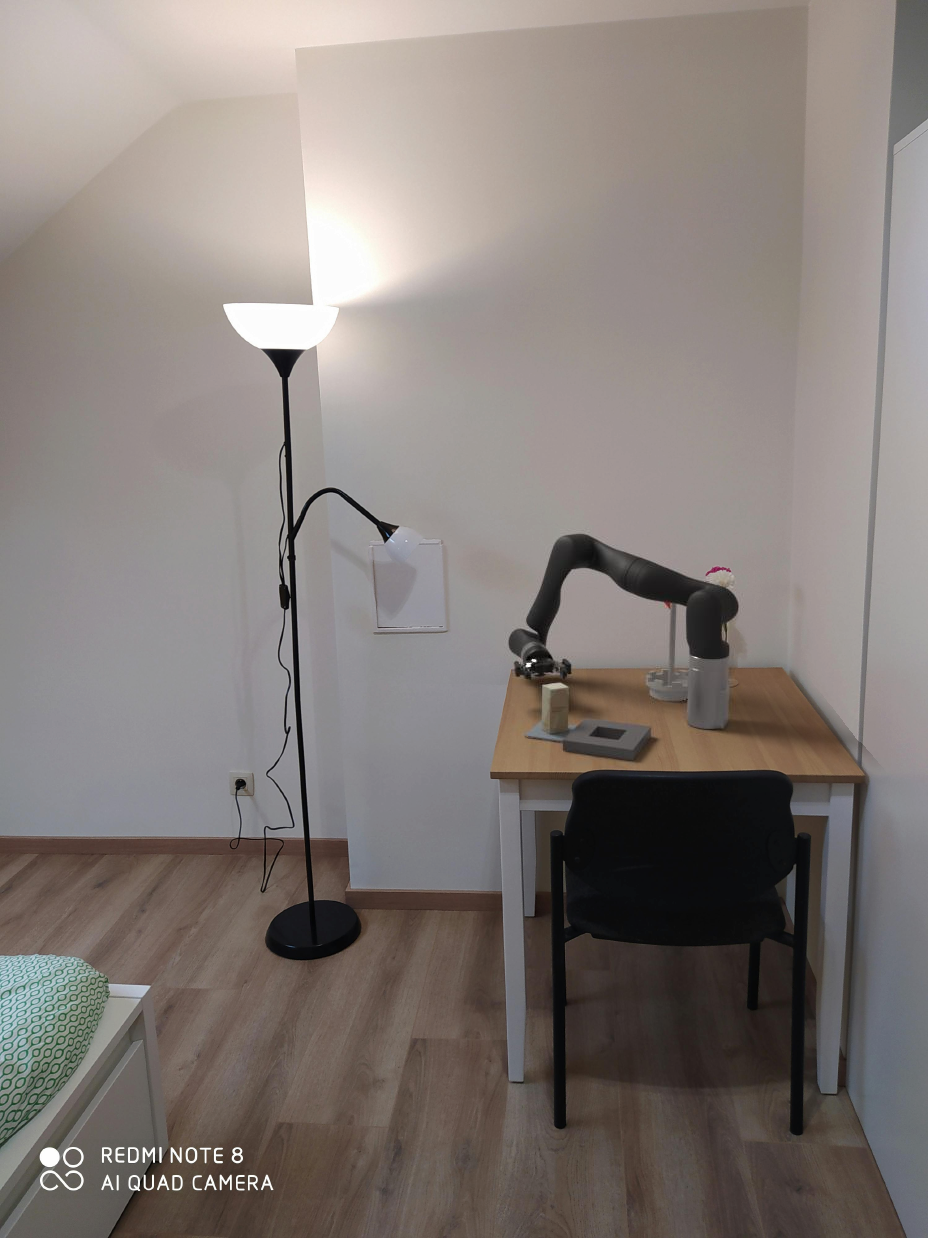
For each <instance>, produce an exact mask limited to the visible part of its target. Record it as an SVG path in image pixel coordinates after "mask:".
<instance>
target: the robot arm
mask: <svg viewBox="0 0 928 1238" xmlns="http://www.w3.org/2000/svg"><path fill="white" fill-rule="evenodd" d="M579 569H589V570H593V571H596V572H599V573H602V574H603V575H606V576H608V577H609V578H610V579H611V580H612V581H613V582H614V583H615V584H616V585H617V586H618V587H619V588H620V589H622V590H623V591H625V592H628V593H629V594H633V595H634V596H637V597H640V598H642V599H644V600H645V599H646V600H649V601H654V602H662V603H664V602H667V603H674V604H676V605H680V606H684V607H685V608H686V610H685V635H686V636H685V637H686V643H687V645H688V650H689V652H688V654H689V655H688V671H689V673H688V700H686V701H687V702H686V704H687V705H686V723H687V724H688V725H689V726H691V727H693V728H698V729H703V730H716V729H719V730H720V729H721V730H724V729H725V728H726V726H727V724H728V722H729V708H730V706H729V704H730V686H731V685H730V684H729V668H730V652H731V651H730V650H731V648H730V644H729V642H727V640H724V639H723V636H722V635H723V634H722V633H723V632H722V631H723V630H722V627H723V626H722V625H724V624H727V623H728V622H730V621H732V620H733V619H734V618H735V617H736V616H737V614H738V613H739V608H740V607H739V605H740V604H739V601H738V599H737V596H736V595H735V594H734V593H733V591H731V590H730V589H728V588H727V587H725V586H722V585H719V584H715V583H711V582H707V581H704V580H699V579H696V578H694V577H690V576H688V575H685V574H682V573H681V572H679V571H675V570H673V569H671V568H668V567H665V566H663V565H661V564H658V563H656V562H653V561H651V560H649V559H647V558H643V557H642V556H641V557H640V556H637V555H635V554H631V553H629V552H626V551H623V550H620V549H617V548H613V547H612V546H610V545H608V544H606V543H604V542H602V541H600V540H599V539H597V538H595V537H593V536H591V535H589V534H586V533H573V534H565V535H562V536H560V537H559V538H557V539H556V541H555V543H554V544H553V546H552V549H551V551H550V555H549V559H548V561H547V565H546V568H545V572H544V576H543V578H542V582H541V585H540V588H539V591H538V592H537V595H536V597H535V599H534V601H533V603H532V606H531V607H530V609H529V611H528V614H527V616H526V619H525V623H526V625H527V626H528V627H529V628H530V629H531V630H533V631H534V632H533V631H531V630H526V629H524V628H516V629H514V630H513V631H512V632H511V633H510V635H509V637H508V648H509V650H510V652H511V653H512V654H513V655H515V656H517V657H519V658H520V659H521V662H519V661H518V660H515V661H513V671H514V672H513V673H514V675H515V677H517V678H520V677H521V676H522V677H523V679H525V680H527V681H532V677H534V678H535V677H537V678H540V677H545V676H546V675H551V676H557V675H559V676H560V677H561V679H562V680H565V679H566V678H567V677H568V675H572V663H571V662H570V661H569V660H568V659H566V658H562V660H561V661H560V662H559V661H557V660H554V658H553V655H552V654H551V653H550V652H549V650H548V648H547V639H548V635H549V632H550V628H551V626H552V624H553V622H554V621H555V618H556V616H557V614H558V612H559V611H560V606H561V602H562V601H561V600H562V599H561V596H562V594H561V593H562V588H563V583H564V582H565V580H566V578H567V577H568V575H569V574H570V573H571V571H572V570H579Z"/></svg>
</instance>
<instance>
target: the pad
mask: <svg viewBox="0 0 928 1238" xmlns="http://www.w3.org/2000/svg"><path fill="white" fill-rule="evenodd" d="M577 725H578V724H577ZM577 725H576V724H569V723H568V731H567V732H561V733H554V734H549V733H547V732H546V731H544V730H543V729H542V720H540V721H539V722H538V723H537V724H536V725H534V726H533V727H532V728H531V729H530V730H529V731H527V733H525V735H524V737H525V736H528V737H533V738H539V739H544V740H543V741H546V740H549V741H548V742H553V741H556V742H555V743H561V744H563V739H564V738H565V737H566V736H567V735H568V734H569V733H570V732H571V731H572V730H573V729H574V728H575V727H576V726H577ZM539 739H538V740H539Z"/></svg>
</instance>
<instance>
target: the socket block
mask: <svg viewBox="0 0 928 1238" xmlns="http://www.w3.org/2000/svg"><path fill="white" fill-rule="evenodd" d="M651 737H652V726H650V725H643V724H633V723H627V722H620V721H618V722H617V721H613V720H612V721H611V720H605V719H603V720H602V719H598V718H597V719H595V718H588V717H585V718H584V719H582V721H580V722H579V723H578V724H577V726H576V727H575V728H574V729H573V730H572V731H571V732H570V733H569V734H568V735H567V736H566V737H565V738H564V739H563V743H562V751H563V750H565V751H564V752H570V751H571V752H572V753H577V754H584V755H591V756H597V757H598V756H599V757H606V758H613V759H619V760H626V761H634V760H635V758H636V757H637V756H638V754H639V753H640V751H641V750H642V749H643V748H644V747H645V746H646V743H648V741H649V740H650V739H651Z"/></svg>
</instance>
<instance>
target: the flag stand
mask: <svg viewBox="0 0 928 1238" xmlns="http://www.w3.org/2000/svg"><path fill="white" fill-rule="evenodd" d="M663 603H664V604H665V605H666V607H667V608H668V610H670V611H669V613H670V614H669V640H668V642H669V645H668V668H661V672H659V673H657V671H656V670H654V669H653V670H650V671H648V673H647V674H646V675H645V684H646V686H647V687H649V696H650V695H651V696H652V697H651V696H650V697H651V698H653V697H654V699H655V698H657V699H656V700H658V699H659V701H663V700H664V701H666V702H683V701H682V700H684V701H687V700H686V699H688V674H689V670H683V669H679V670H678V673H677V672H675V667H676V666H675V661H676V658H675V657H676V631H677V630H676V627H677V623H676V622H677V604H674V603H667V602H663Z"/></svg>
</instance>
